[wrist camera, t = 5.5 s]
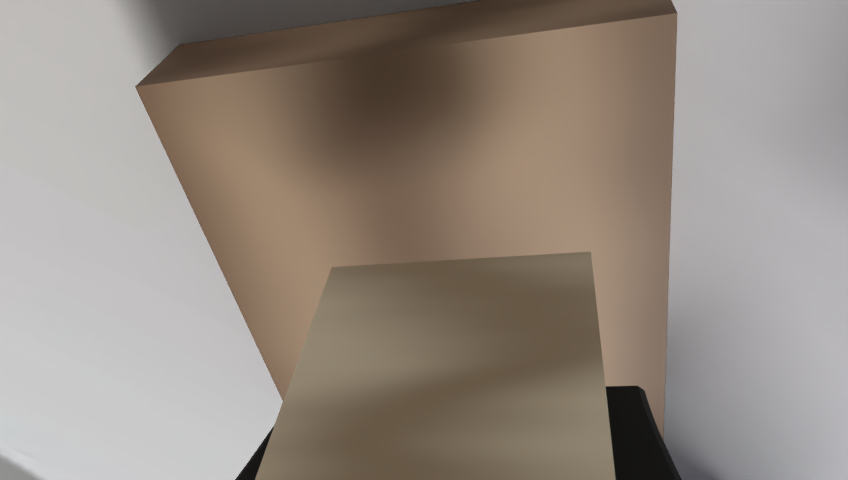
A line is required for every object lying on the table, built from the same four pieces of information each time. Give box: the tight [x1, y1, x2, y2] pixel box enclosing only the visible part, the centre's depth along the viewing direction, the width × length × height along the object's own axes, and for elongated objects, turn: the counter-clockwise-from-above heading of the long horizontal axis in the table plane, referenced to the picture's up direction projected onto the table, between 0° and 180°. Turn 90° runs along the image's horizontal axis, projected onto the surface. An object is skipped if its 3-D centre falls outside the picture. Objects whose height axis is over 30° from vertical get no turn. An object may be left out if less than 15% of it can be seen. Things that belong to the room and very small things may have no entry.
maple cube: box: [255, 252, 616, 480], centre depth 11 cm, size 4×4×5 cm
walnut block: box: [135, 0, 677, 439], centre depth 20 cm, size 12×14×3 cm
